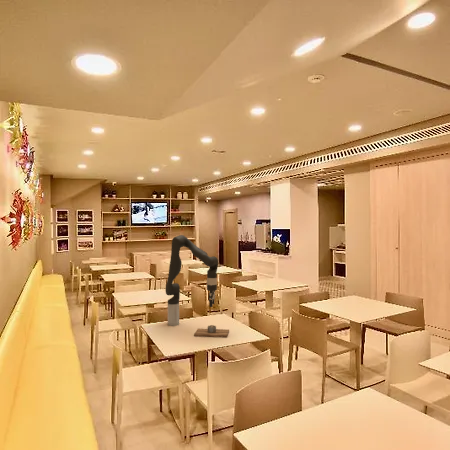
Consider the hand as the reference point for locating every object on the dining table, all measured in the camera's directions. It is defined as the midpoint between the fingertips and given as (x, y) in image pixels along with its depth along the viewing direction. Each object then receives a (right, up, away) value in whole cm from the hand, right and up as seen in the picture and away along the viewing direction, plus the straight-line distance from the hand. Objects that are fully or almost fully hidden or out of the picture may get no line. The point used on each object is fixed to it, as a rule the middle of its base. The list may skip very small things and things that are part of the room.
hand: (211, 305), depth 266 cm
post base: (0, -21, 0) cm, 21 cm away
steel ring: (0, -20, 0) cm, 20 cm away
